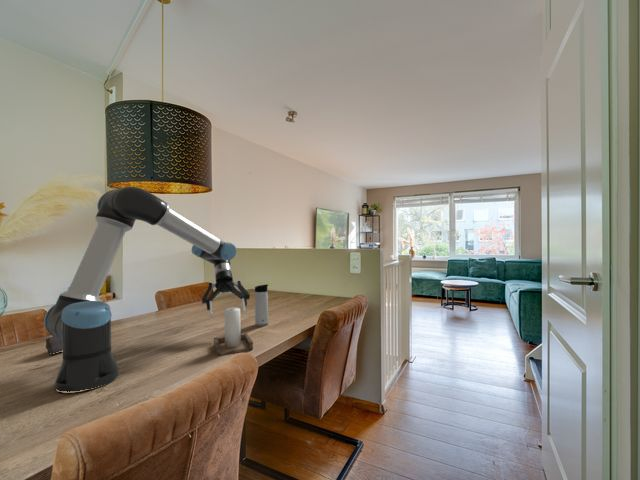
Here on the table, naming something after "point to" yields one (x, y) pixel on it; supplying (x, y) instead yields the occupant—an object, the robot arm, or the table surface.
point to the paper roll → (232, 327)
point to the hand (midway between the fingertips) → (228, 314)
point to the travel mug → (261, 305)
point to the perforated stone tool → (54, 345)
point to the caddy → (245, 345)
